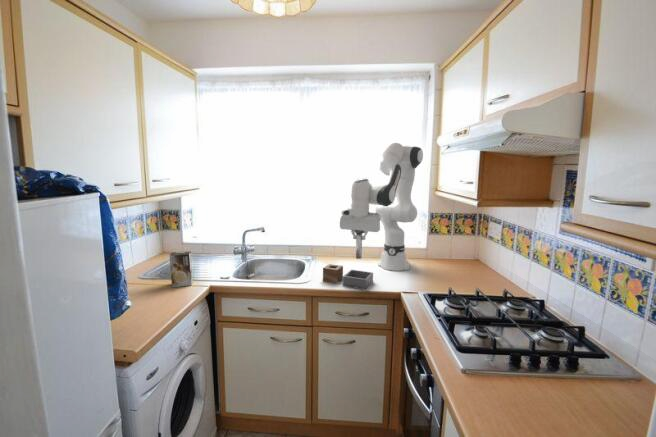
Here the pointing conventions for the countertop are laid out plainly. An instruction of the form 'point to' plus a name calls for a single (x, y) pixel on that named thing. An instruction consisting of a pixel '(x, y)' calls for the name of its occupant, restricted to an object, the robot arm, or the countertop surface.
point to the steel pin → (358, 244)
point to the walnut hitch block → (333, 273)
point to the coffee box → (181, 269)
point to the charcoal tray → (358, 279)
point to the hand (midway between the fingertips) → (359, 239)
